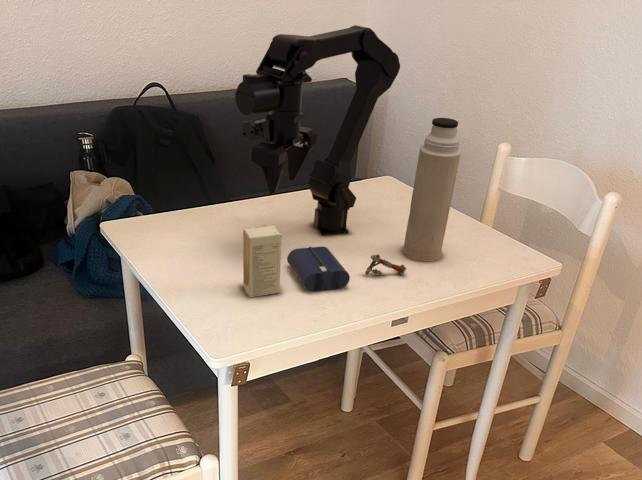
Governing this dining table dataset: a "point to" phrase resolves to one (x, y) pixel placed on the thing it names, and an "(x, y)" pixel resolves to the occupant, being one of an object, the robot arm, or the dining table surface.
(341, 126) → the robot arm
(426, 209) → the thermos bottle
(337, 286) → the pouch
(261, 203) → the dining table surface
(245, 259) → the cosmetic box
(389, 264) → the wooden post with brackets
